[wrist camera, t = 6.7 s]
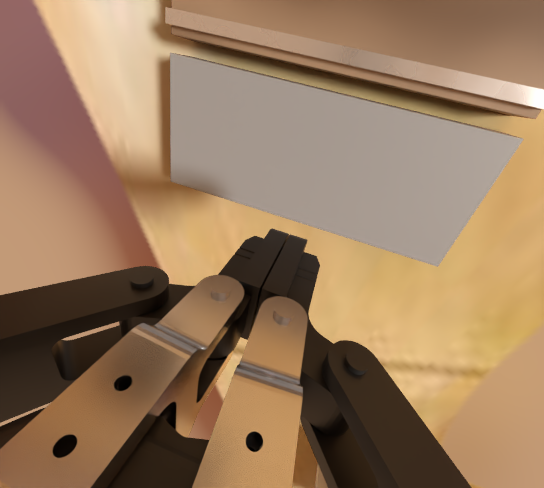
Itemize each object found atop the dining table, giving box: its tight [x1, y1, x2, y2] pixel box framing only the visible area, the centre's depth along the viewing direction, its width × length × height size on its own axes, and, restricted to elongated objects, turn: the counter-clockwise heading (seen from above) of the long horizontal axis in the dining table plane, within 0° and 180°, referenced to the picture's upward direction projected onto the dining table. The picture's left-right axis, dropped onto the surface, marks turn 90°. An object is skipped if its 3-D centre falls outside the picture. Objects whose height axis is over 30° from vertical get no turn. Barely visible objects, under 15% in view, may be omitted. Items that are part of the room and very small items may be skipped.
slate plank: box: [170, 53, 523, 267], centre depth 16 cm, size 7×17×2 cm, turn 78°
